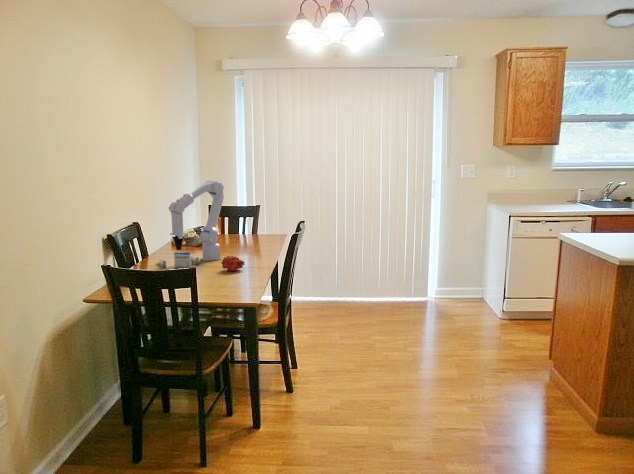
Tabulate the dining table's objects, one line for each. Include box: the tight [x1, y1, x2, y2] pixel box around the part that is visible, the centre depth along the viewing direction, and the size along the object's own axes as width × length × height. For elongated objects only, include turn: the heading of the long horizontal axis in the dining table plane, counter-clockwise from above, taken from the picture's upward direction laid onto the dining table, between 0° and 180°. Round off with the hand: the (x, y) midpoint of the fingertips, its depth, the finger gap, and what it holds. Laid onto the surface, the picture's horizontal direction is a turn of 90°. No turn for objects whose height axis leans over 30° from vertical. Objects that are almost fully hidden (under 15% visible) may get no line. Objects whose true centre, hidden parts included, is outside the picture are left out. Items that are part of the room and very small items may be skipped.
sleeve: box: [157, 255, 200, 269], centre depth 270 cm, size 19×15×4 cm
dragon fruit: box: [221, 255, 245, 272], centre depth 256 cm, size 8×8×12 cm
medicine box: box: [173, 250, 191, 270], centre depth 261 cm, size 8×4×9 cm, turn 107°
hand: (178, 249), depth 267 cm, fingers closed
